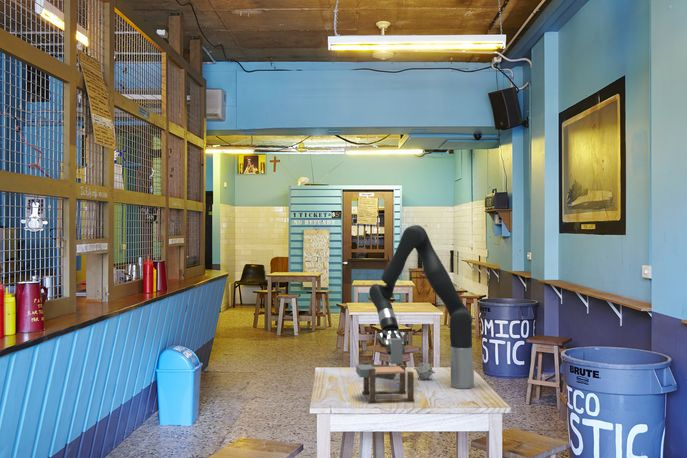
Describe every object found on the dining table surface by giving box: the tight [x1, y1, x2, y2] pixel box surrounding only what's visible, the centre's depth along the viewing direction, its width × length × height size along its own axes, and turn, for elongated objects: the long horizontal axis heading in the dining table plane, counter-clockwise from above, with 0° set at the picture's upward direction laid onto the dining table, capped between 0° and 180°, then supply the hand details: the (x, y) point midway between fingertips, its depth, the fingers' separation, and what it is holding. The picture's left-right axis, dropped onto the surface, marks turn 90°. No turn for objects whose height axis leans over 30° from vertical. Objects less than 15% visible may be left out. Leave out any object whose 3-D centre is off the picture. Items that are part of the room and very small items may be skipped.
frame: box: [361, 361, 415, 404], centre depth 246 cm, size 18×15×13 cm
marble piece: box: [371, 363, 396, 380], centre depth 289 cm, size 17×15×4 cm
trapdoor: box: [355, 363, 406, 378], centre depth 245 cm, size 18×11×3 cm, turn 98°
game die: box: [413, 360, 436, 381], centre depth 280 cm, size 9×8×10 cm
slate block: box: [387, 338, 404, 365], centre depth 260 cm, size 5×5×10 cm
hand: (396, 353), depth 258 cm, fingers closed on slate block, 5 cm apart
